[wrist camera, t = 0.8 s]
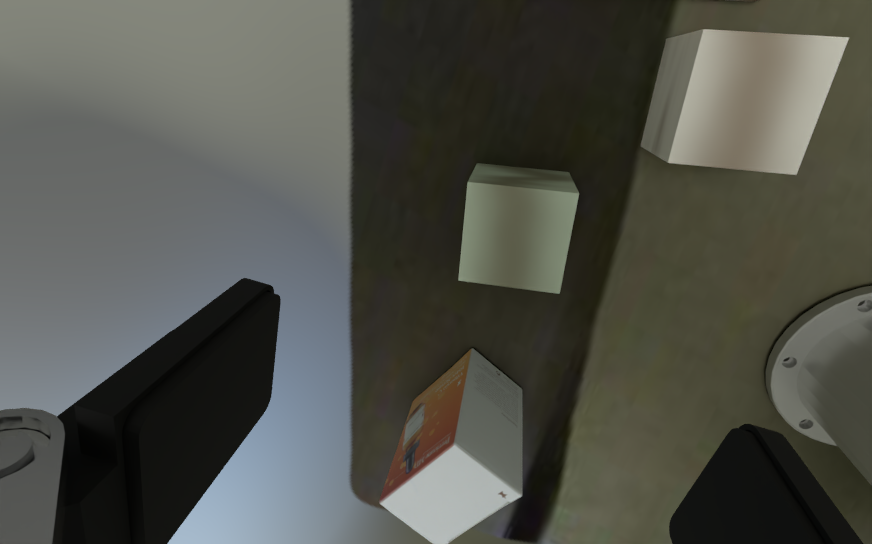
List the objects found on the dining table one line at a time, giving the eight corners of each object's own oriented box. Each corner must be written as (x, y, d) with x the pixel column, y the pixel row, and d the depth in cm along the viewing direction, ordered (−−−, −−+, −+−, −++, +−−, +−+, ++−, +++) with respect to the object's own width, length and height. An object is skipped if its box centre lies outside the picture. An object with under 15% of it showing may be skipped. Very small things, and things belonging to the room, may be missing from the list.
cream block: (779, 45, 25) (849, 37, 20) (743, 155, 28) (796, 175, 22) (665, 38, 26) (703, 29, 21) (640, 146, 29) (667, 162, 23)
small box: (473, 344, 36) (455, 441, 27) (524, 388, 37) (525, 497, 27) (410, 400, 39) (375, 504, 30) (459, 439, 40) (439, 552, 31)
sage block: (568, 171, 30) (579, 193, 25) (553, 257, 32) (559, 293, 27) (477, 162, 31) (467, 181, 25) (468, 246, 33) (458, 280, 28)
